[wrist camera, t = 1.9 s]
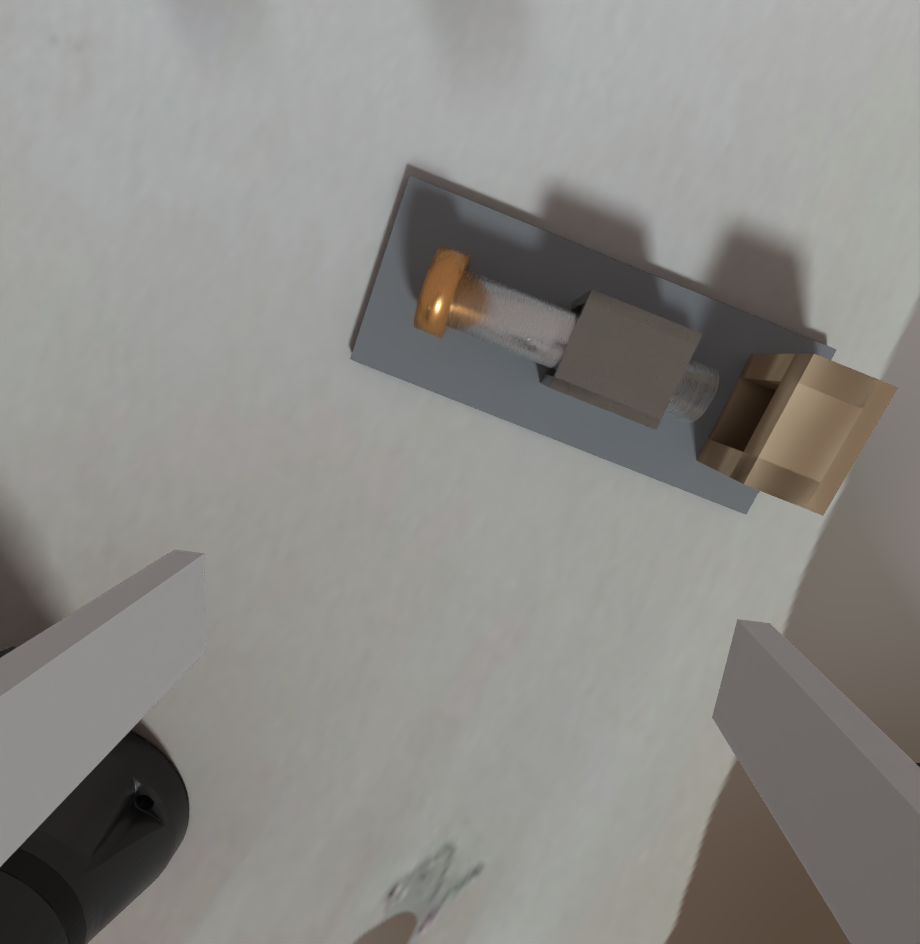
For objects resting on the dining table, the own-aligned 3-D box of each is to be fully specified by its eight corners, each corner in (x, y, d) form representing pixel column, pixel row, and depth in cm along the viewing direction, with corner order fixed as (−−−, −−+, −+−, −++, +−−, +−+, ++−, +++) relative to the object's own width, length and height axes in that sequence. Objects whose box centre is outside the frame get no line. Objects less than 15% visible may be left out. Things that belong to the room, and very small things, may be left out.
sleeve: (539, 382, 31) (550, 387, 26) (574, 300, 30) (592, 289, 25) (629, 418, 32) (656, 429, 27) (667, 337, 30) (702, 334, 25)
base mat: (352, 359, 32) (350, 359, 32) (411, 179, 30) (409, 175, 29) (741, 511, 33) (746, 514, 33) (829, 349, 31) (836, 349, 30)
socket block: (696, 460, 32) (743, 484, 26) (750, 354, 30) (814, 353, 24) (761, 486, 32) (823, 515, 26) (818, 381, 30) (897, 387, 25)
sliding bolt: (419, 329, 31) (408, 325, 26) (446, 253, 30) (440, 235, 25) (668, 428, 31) (698, 440, 27) (702, 357, 30) (740, 357, 26)
